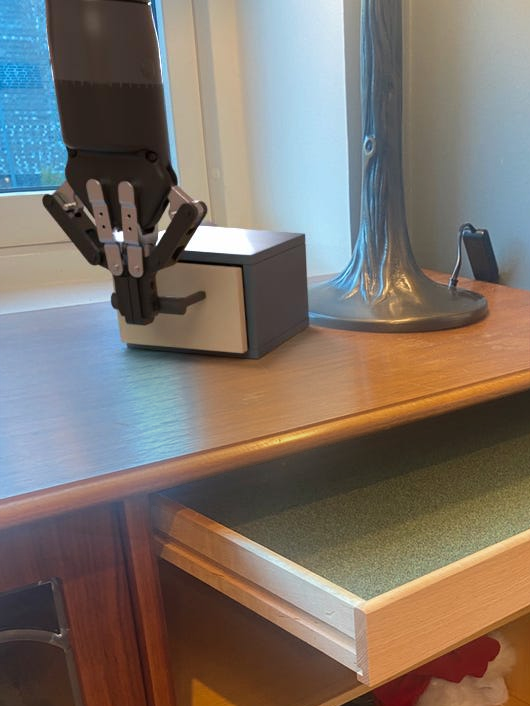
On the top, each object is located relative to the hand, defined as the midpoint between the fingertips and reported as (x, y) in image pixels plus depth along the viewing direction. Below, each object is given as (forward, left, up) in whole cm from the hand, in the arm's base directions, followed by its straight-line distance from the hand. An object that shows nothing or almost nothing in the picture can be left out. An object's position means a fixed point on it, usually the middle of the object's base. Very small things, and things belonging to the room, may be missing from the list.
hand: (140, 322), depth 78 cm
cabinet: (0, +16, -4) cm, 17 cm away
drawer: (0, +11, -4) cm, 11 cm away
